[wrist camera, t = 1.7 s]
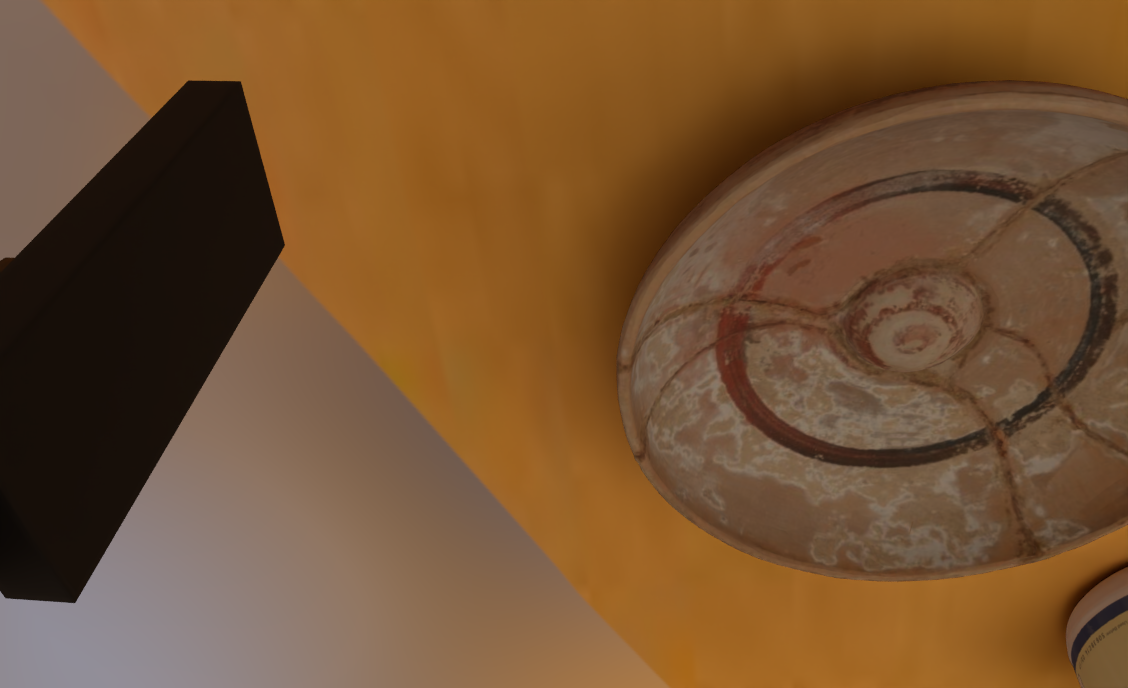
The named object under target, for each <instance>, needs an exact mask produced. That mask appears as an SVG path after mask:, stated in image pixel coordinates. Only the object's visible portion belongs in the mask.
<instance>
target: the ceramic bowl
mask: <svg viewBox="0 0 1128 688" xmlns="http://www.w3.org/2000/svg"><path fill="white" fill-rule="evenodd" d="M617 390H618V400H619V406H620V412H621V416H622V421H623V426H624V430H625V433H626V436H627V440H628V442H629V445H630V447H631V450H632V452H633V454H634V457H635V460H636V461H637V462H638V463H639V465H640V467H641V470H642V471H643V473H644V474H645V476H646V477H647V478H648V480H649V481H650V482H651V484H652V485H653V486H654V487H655V489H656V490H657V491H658V492H659V494H660V495H661V496H662V497H663V498H664V499H665V500H666V501H667V502H668V503H669V504H670V505H671V506H672V507H674V508H675V509H676V510H677V511H678V512H679V513H681V514H682V515H683V516H684V517H685V518H687V519H688V520H689V521H691V522H692V523H694V524H695V525H697V526H698V527H699V528H701V529H703V530H704V531H706V532H707V533H709V534H710V535H712V536H714V537H716V538H717V539H719V540H721V541H723V542H724V543H726V544H728V545H730V546H732V547H734V548H735V549H738V550H740V551H742V552H744V553H747V554H749V555H751V556H754V557H756V558H759V559H761V560H765V561H768V562H771V563H774V564H777V565H781V566H785V567H789V568H793V569H797V570H801V571H805V572H810V573H815V574H820V575H824V576H829V577H834V578H843V579H853V580H869V581H920V580H937V579H947V578H956V577H964V576H970V575H976V574H982V573H987V572H991V571H996V570H1001V569H1006V568H1011V567H1015V566H1020V565H1024V564H1029V563H1034V562H1037V561H1041V560H1044V559H1047V558H1050V557H1053V556H1055V555H1058V554H1060V553H1063V552H1066V551H1069V550H1072V549H1075V548H1078V547H1080V546H1083V545H1085V544H1087V543H1090V542H1092V541H1094V540H1096V539H1098V538H1100V537H1102V536H1104V535H1107V534H1109V533H1111V532H1114V531H1116V530H1118V529H1120V528H1122V527H1124V526H1126V525H1128V99H1125V98H1122V97H1118V96H1115V95H1111V94H1108V93H1105V92H1101V91H1097V90H1092V89H1087V88H1081V87H1076V86H1070V85H1063V84H1056V83H1049V82H1033V81H1014V80H1005V81H981V82H965V83H952V84H946V85H940V86H934V87H928V88H922V89H917V90H912V91H908V92H904V93H899V94H895V95H891V96H887V97H883V98H880V99H876V100H872V101H869V102H865V103H862V104H860V105H857V106H854V107H851V108H848V109H845V110H842V111H840V112H838V113H835V114H833V115H831V116H829V117H826V118H824V119H822V120H820V121H817V122H815V123H813V124H811V125H808V126H806V127H804V128H802V129H800V130H798V131H797V132H795V133H793V134H791V135H789V136H788V137H786V138H784V139H782V140H780V141H779V142H777V143H775V144H773V145H772V146H770V147H768V148H767V149H765V150H764V151H762V152H761V153H759V154H758V155H756V156H755V157H753V158H752V159H751V160H749V161H748V162H747V163H745V164H744V165H743V166H741V167H740V168H739V169H738V170H736V171H735V172H734V173H732V174H731V175H730V176H729V177H727V178H726V179H725V180H724V181H723V182H722V183H721V184H719V185H718V186H717V187H716V188H715V189H714V190H713V191H711V192H710V193H709V194H708V195H707V196H706V197H705V198H704V199H703V200H702V201H701V202H700V203H699V204H698V205H697V206H696V207H695V208H694V209H693V210H692V211H691V212H690V213H689V214H688V215H687V216H686V217H685V218H684V219H683V221H682V222H681V223H680V224H679V225H678V226H677V227H676V228H675V230H674V231H673V232H672V234H671V235H670V236H669V238H668V239H667V240H666V242H665V243H664V244H663V246H662V247H661V249H660V250H659V251H658V253H657V254H656V256H655V258H654V259H653V261H652V262H651V264H650V265H649V267H648V269H647V270H646V272H645V274H644V276H643V278H642V280H641V282H640V284H639V285H638V287H637V290H636V292H635V295H634V297H633V299H632V302H631V305H630V307H629V310H628V313H627V315H626V318H625V321H624V324H623V327H622V332H621V336H620V341H619V347H618V353H617Z"/></svg>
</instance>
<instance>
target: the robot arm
mask: <svg viewBox="0 0 1128 688" xmlns="http://www.w3.org/2000/svg"><path fill="white" fill-rule="evenodd" d="M284 246H285V244H284V240H283V236H282V233H281V229H280V225H279V221H278V218H277V214H276V210H275V207H274V203H273V199H272V196H271V192H270V188H269V184H268V181H267V177H266V173H265V170H264V166H263V162H262V159H261V155H260V151H259V147H258V144H257V140H256V136H255V133H254V129H253V125H252V122H251V118H250V114H249V111H248V107H247V103H246V99H245V96H244V92H243V88H242V85H241V81H187V82H186V84H185V85H184V86H183V87H182V88H181V89H180V90H179V91H178V92H177V93H176V94H175V95H174V96H173V97H172V98H171V99H170V100H169V101H168V102H167V103H166V104H165V105H164V106H163V107H162V108H161V109H160V110H159V111H158V112H157V113H156V114H155V115H154V116H153V117H152V118H151V119H150V120H149V121H148V122H147V123H146V124H145V125H144V126H143V128H142V129H141V130H140V131H139V132H138V133H137V134H136V135H135V136H134V137H133V138H132V139H131V140H130V141H129V142H128V143H127V144H126V145H125V146H124V147H123V148H122V149H121V150H120V151H119V152H118V153H117V154H116V155H115V156H114V157H113V158H112V159H111V160H110V161H109V162H108V163H107V164H106V165H105V166H104V167H103V168H102V169H101V170H100V172H99V173H97V174H96V176H95V177H94V178H93V179H92V180H91V181H90V182H89V183H88V184H87V185H86V186H85V187H84V188H83V189H82V190H81V191H80V192H79V193H78V194H77V195H76V196H75V197H74V198H73V199H72V200H71V201H70V202H69V203H68V204H67V205H66V206H65V207H64V208H63V209H62V210H61V211H60V212H59V213H58V214H57V215H56V217H54V218H53V220H51V222H50V223H49V224H48V225H47V226H46V227H45V228H44V229H43V230H42V231H41V232H40V233H39V234H38V235H37V236H36V237H35V238H34V239H33V240H32V241H31V242H30V243H29V244H28V245H27V246H26V247H25V248H24V249H23V250H22V251H21V252H20V253H19V254H18V255H17V256H16V257H15V258H4V259H3V260H1V261H0V591H1V593H2V594H3V595H4V597H5V598H11V599H24V600H25V599H26V600H39V601H53V602H68V603H75V602H76V601H77V599H78V597H79V596H80V594H81V592H82V590H83V588H84V587H85V585H86V583H87V582H88V580H89V578H90V577H91V575H92V573H93V572H94V570H95V568H96V566H97V565H98V563H99V561H100V560H101V558H102V556H103V555H104V553H105V551H106V549H107V548H108V546H109V544H110V543H111V541H112V539H113V538H114V536H115V534H116V532H117V531H118V529H119V527H120V526H121V524H122V522H123V521H124V519H125V517H126V515H127V514H128V512H129V510H130V509H131V507H132V505H133V503H134V502H135V500H136V498H137V497H138V495H139V493H140V491H141V490H142V488H143V486H144V485H145V483H146V481H147V480H148V478H149V476H150V474H151V473H152V471H153V469H154V468H155V466H156V464H157V463H158V461H159V459H160V457H161V456H162V454H163V452H164V451H165V449H166V447H167V445H168V444H169V442H170V440H171V439H172V437H173V435H174V434H175V432H176V430H177V428H178V427H179V425H180V423H181V422H182V420H183V418H184V416H185V415H186V413H187V411H188V410H189V408H190V406H191V404H192V403H193V401H194V399H195V398H196V396H197V394H198V392H199V391H200V389H201V388H202V386H203V384H204V382H205V381H206V379H207V377H208V375H209V374H210V372H211V370H212V369H213V367H214V365H215V364H216V362H217V360H218V359H219V357H220V355H221V353H222V351H223V350H224V348H225V347H226V345H227V343H228V342H229V340H230V338H231V336H232V335H233V333H234V331H235V330H236V328H237V326H238V324H239V323H240V321H241V319H242V318H243V316H244V314H245V313H246V311H247V309H248V307H249V306H250V304H251V302H252V301H253V299H254V297H255V295H256V294H257V292H258V290H259V289H260V287H261V285H262V284H263V282H264V280H265V278H266V277H267V275H268V273H269V271H270V270H271V268H272V266H273V265H274V263H275V261H276V260H277V258H278V256H279V255H280V253H281V251H282V249H283V248H284Z"/></svg>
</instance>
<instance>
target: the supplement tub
mask: <svg viewBox="0 0 1128 688" xmlns="http://www.w3.org/2000/svg"><path fill="white" fill-rule="evenodd" d="M1066 645H1067V650H1068V657H1069V660H1070V662H1071V664H1072V665H1073V667H1074V670H1075V673H1076V675H1077V678H1078V680H1079V683H1080V686H1081V688H1128V567H1126V568H1124V569H1122V570H1120V571H1118V572H1116V573H1114V574H1113V575H1111V576H1109V577H1108V578H1106V579H1105V580H1103V581H1102V582H1100V583H1099V584H1098V585H1096V586H1095V587H1094V588H1093V589H1091V590H1090V591H1089V592H1088V593H1087V594H1086V595H1085V596H1084V597H1083V598H1082V599H1081V600H1080V601H1079V603H1078V604H1077V605H1076V607H1075V608H1074V610H1073V612H1072V614H1071V616H1070V618H1069V620H1068V624H1067V629H1066Z"/></svg>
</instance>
